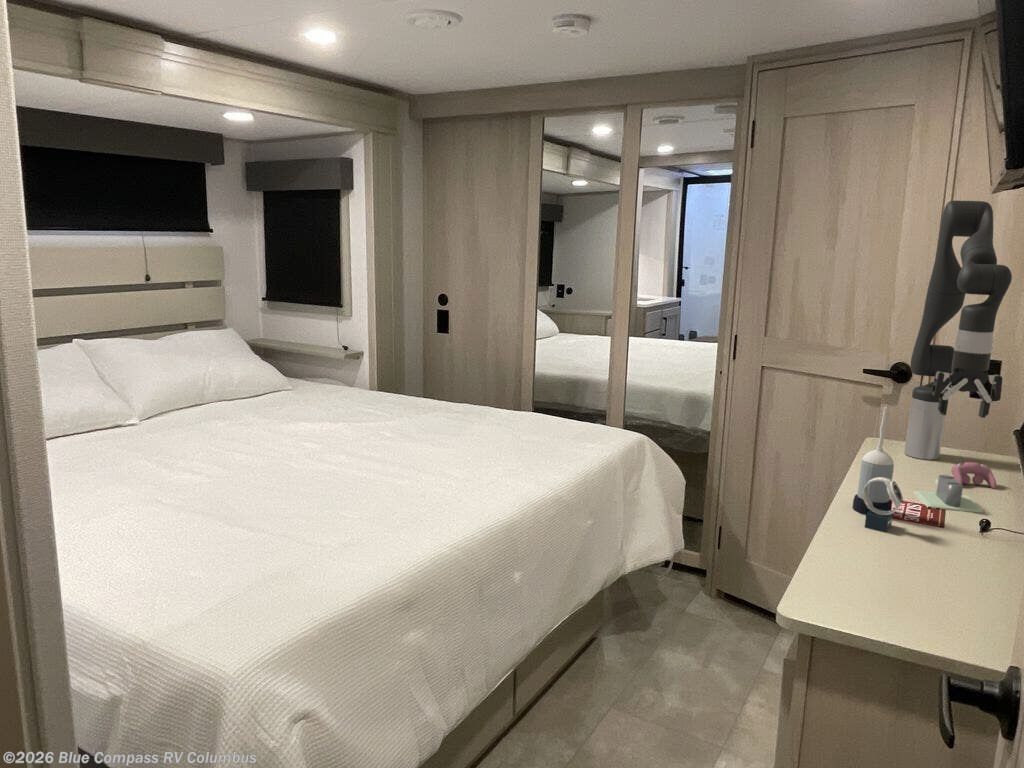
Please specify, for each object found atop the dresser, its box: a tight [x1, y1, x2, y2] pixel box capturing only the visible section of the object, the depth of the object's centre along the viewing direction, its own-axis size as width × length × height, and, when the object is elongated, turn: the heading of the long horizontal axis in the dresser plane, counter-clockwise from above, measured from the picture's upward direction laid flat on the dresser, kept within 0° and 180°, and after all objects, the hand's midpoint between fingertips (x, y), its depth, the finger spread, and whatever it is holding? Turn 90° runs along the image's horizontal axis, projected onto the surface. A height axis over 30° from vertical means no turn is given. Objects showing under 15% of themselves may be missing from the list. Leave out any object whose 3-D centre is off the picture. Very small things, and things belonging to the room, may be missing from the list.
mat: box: [913, 490, 985, 514], centre depth 180 cm, size 11×12×1 cm
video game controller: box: [950, 461, 997, 490], centre depth 194 cm, size 10×5×7 cm, turn 85°
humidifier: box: [852, 406, 895, 516], centre depth 171 cm, size 8×8×25 cm
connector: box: [935, 474, 964, 507], centre depth 181 cm, size 11×3×5 cm, turn 168°
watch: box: [862, 477, 904, 533], centre depth 163 cm, size 6×8×11 cm
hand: (962, 415), depth 178 cm, fingers open, 8 cm apart
